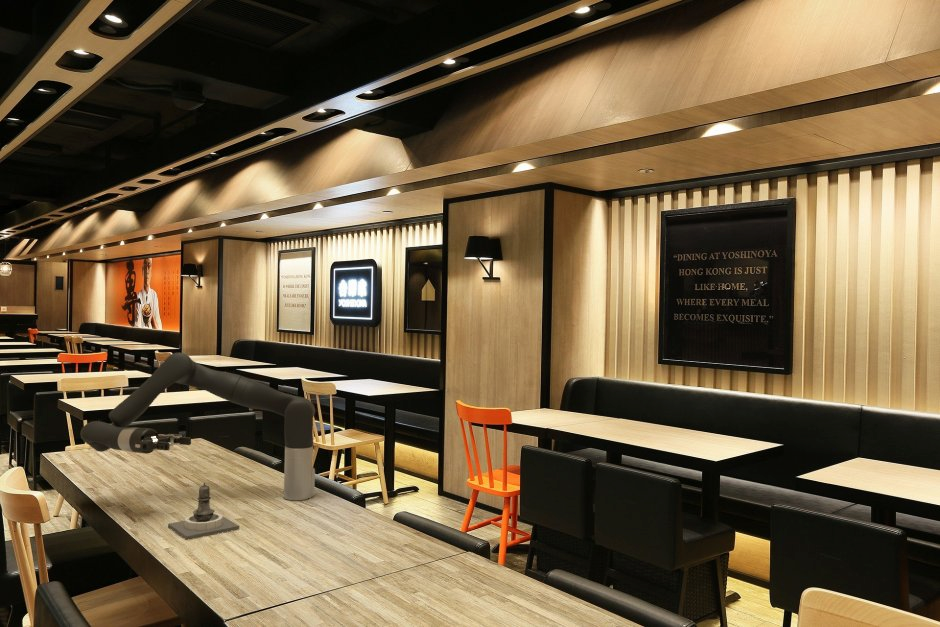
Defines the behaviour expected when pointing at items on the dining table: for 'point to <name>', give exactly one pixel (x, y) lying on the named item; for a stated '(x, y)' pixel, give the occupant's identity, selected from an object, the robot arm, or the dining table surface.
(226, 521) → the tray
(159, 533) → the dining table surface
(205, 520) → the salt shaker
